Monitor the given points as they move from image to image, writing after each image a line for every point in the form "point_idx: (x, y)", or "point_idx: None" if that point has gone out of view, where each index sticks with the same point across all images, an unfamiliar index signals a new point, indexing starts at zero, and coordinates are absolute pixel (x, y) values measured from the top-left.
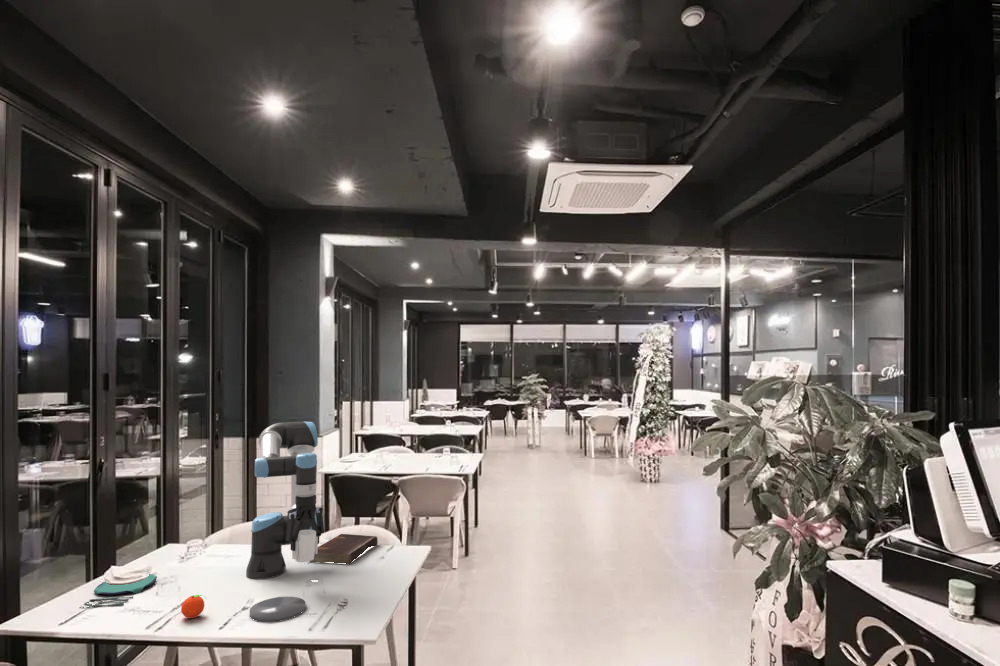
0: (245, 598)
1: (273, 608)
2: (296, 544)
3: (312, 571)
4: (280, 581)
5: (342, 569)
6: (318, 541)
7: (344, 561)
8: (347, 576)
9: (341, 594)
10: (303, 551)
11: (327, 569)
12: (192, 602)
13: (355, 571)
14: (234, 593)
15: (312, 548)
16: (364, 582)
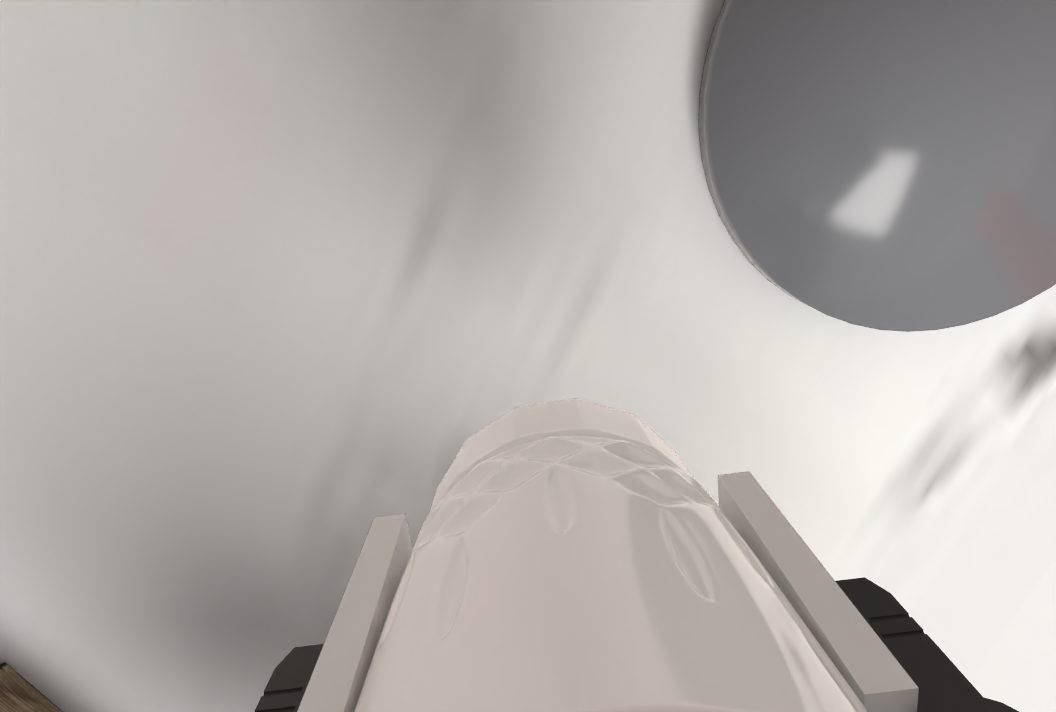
0: (922, 535)
1: (1008, 75)
2: (881, 642)
3: None
4: None
5: (89, 604)
6: (284, 686)
7: (17, 709)
8: (109, 434)
9: (330, 46)
10: (690, 489)
11: (194, 676)
12: None
13: (5, 495)
14: None
15: (510, 489)
16: (23, 182)
